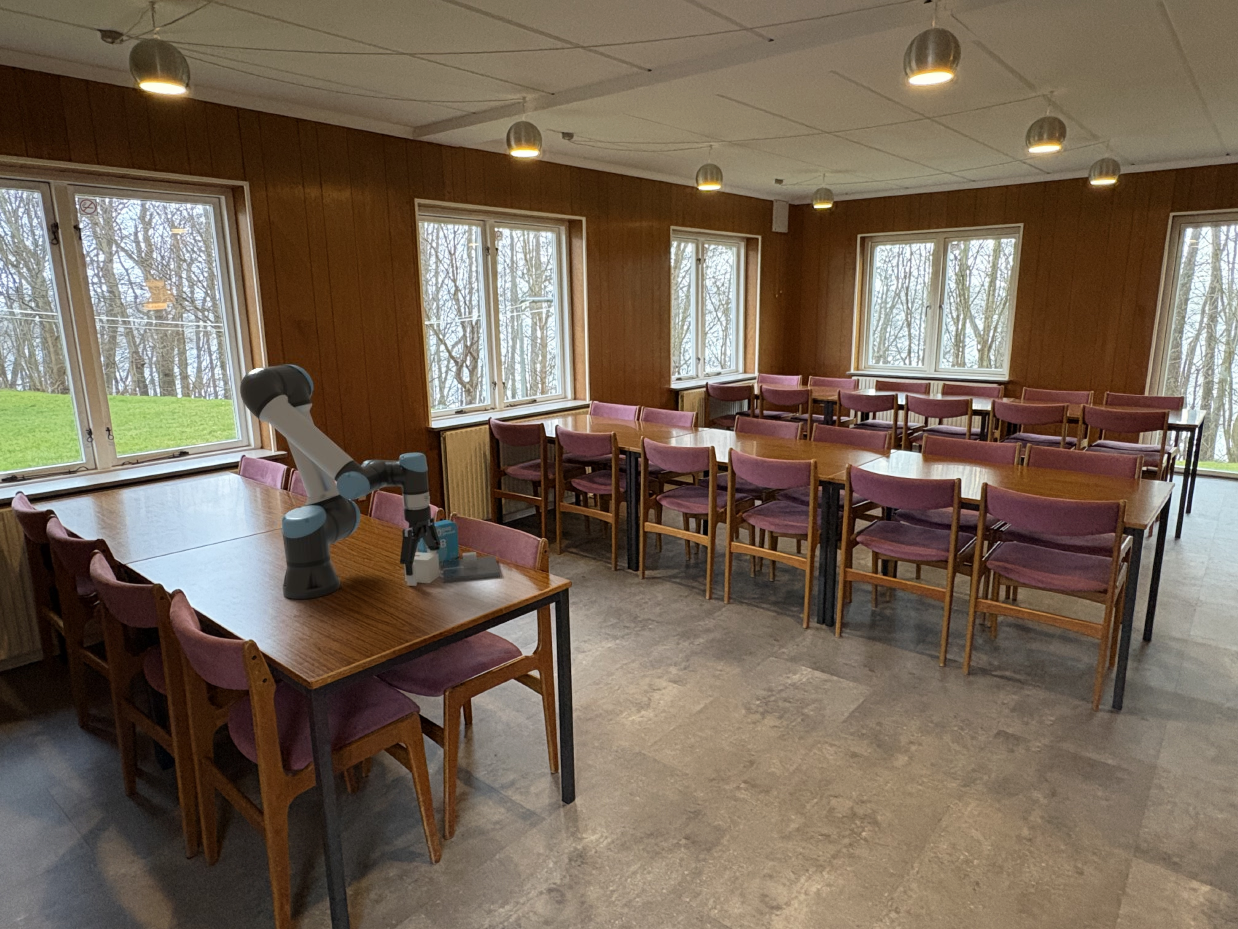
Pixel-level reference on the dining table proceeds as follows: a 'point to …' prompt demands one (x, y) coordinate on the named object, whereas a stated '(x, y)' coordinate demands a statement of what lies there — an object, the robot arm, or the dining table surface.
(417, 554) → the white box
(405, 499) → the robot arm
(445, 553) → the data package
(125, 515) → the dining table surface
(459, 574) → the plate
